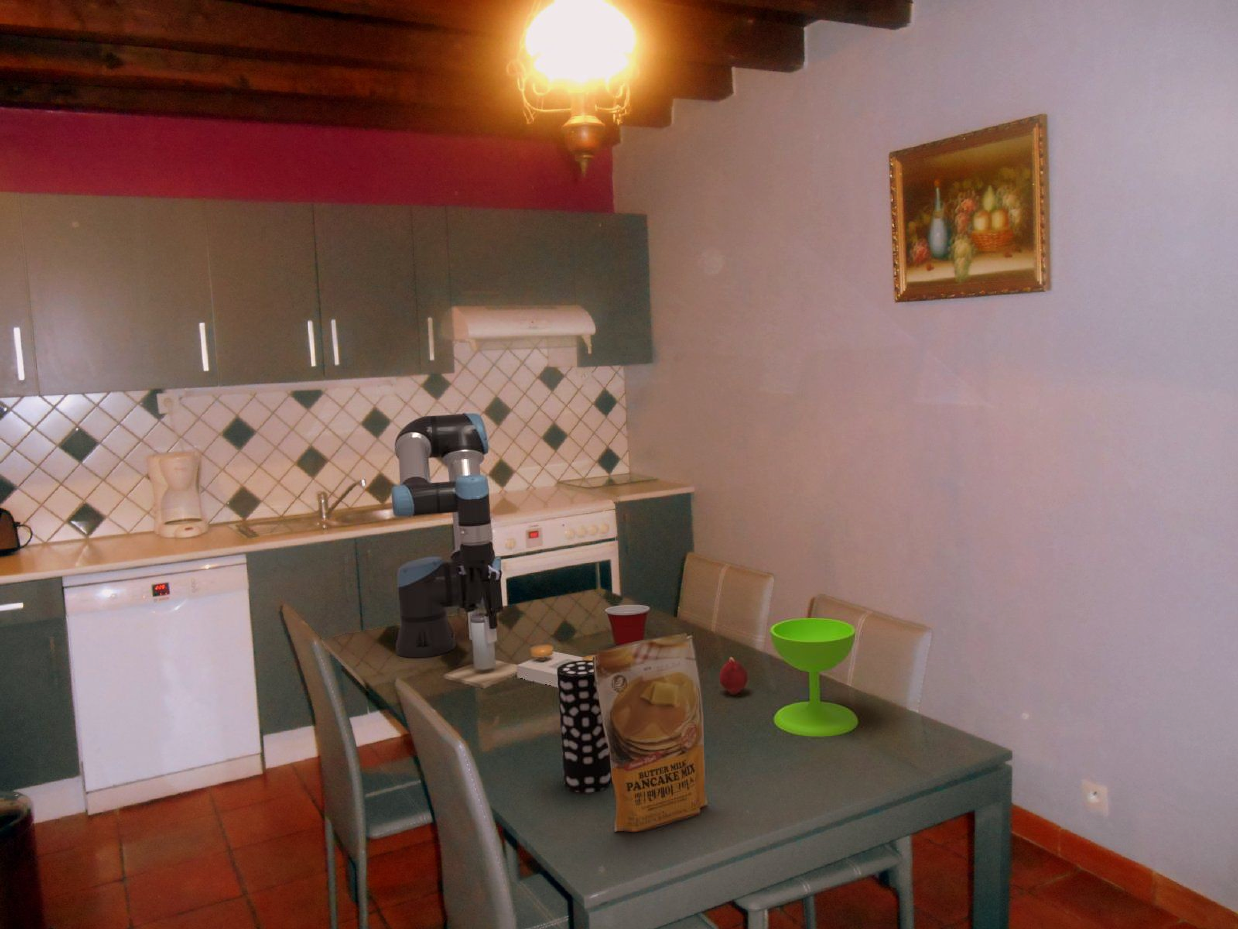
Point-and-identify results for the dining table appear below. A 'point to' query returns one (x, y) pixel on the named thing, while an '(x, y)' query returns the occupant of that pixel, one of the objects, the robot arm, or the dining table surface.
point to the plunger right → (588, 657)
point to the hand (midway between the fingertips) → (483, 640)
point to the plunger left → (542, 652)
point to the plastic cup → (627, 623)
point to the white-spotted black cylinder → (582, 729)
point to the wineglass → (814, 673)
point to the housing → (544, 668)
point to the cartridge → (481, 644)
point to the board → (483, 674)
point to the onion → (733, 676)
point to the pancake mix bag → (653, 729)
